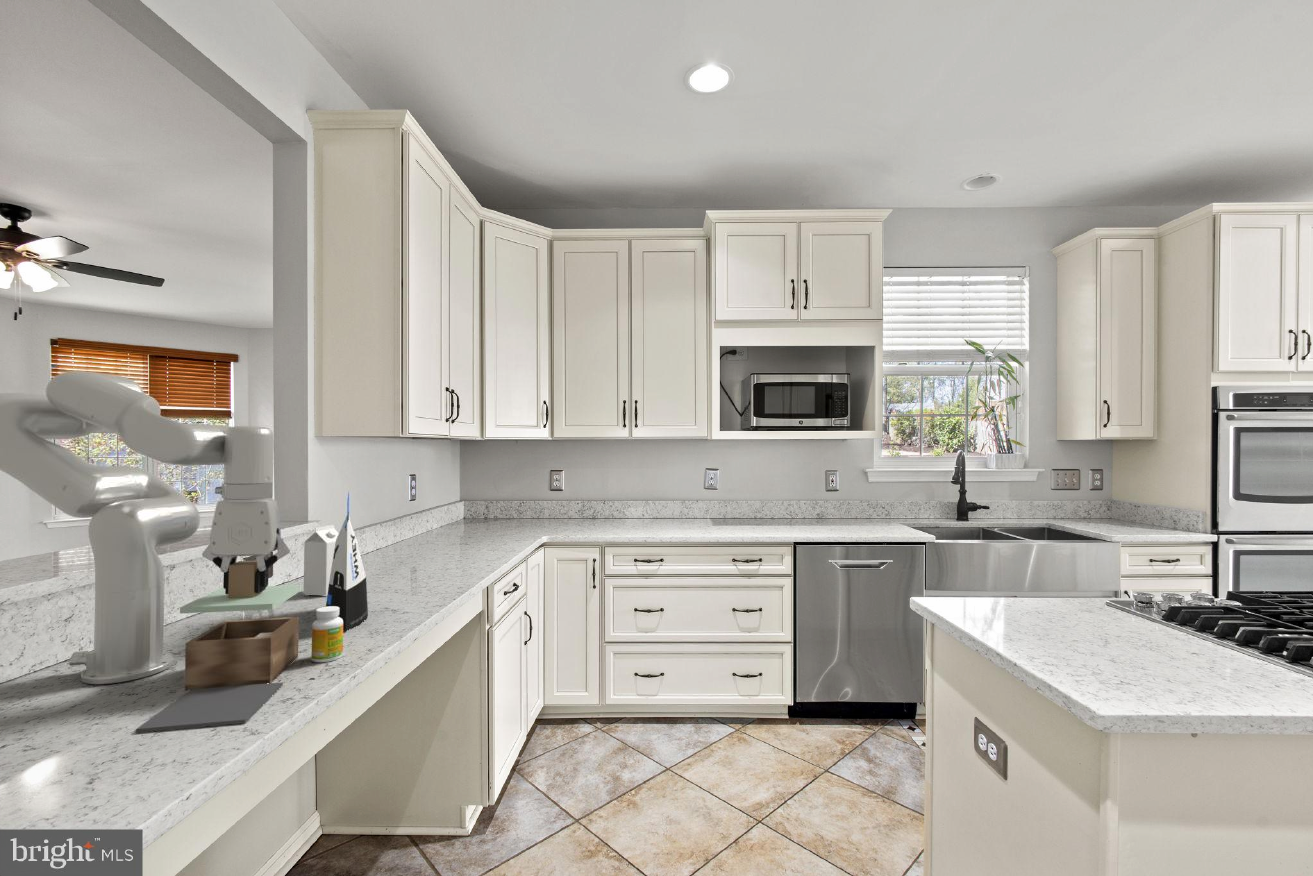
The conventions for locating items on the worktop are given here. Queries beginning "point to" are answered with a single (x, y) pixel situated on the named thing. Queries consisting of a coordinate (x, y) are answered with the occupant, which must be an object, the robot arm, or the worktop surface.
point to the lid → (242, 593)
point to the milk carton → (319, 560)
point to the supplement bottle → (327, 635)
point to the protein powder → (348, 578)
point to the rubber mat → (211, 707)
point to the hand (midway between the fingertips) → (246, 590)
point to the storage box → (241, 653)
